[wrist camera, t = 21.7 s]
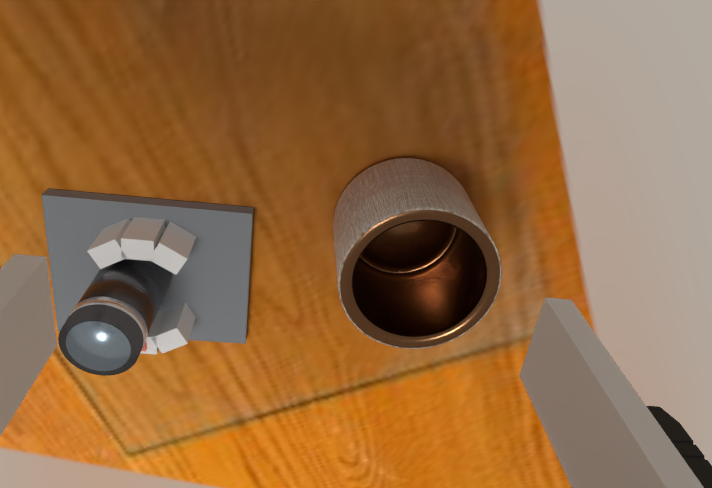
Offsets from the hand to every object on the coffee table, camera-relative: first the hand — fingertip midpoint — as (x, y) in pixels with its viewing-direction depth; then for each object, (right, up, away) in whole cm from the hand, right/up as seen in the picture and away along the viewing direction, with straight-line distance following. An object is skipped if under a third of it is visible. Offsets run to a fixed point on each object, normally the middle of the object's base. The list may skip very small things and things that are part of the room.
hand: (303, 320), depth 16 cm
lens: (-15, 0, +30) cm, 34 cm away
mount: (-15, 0, +31) cm, 35 cm away
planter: (+5, +4, +31) cm, 32 cm away
